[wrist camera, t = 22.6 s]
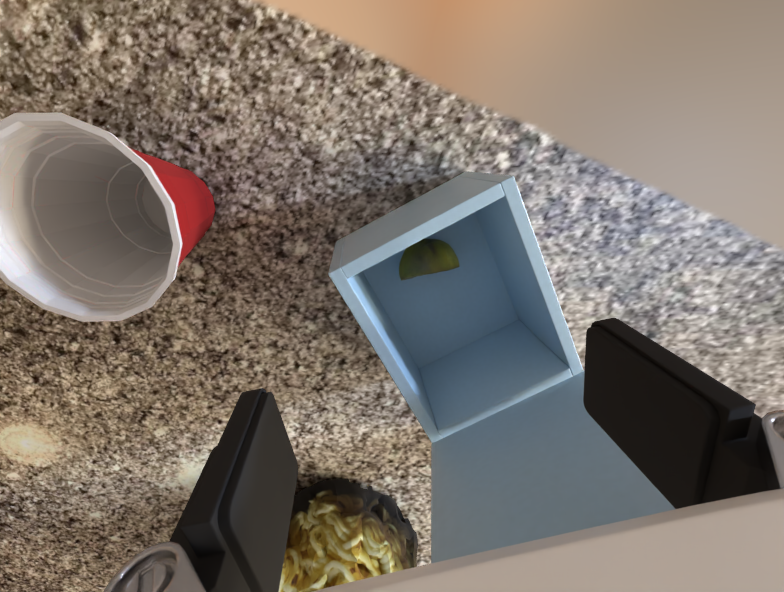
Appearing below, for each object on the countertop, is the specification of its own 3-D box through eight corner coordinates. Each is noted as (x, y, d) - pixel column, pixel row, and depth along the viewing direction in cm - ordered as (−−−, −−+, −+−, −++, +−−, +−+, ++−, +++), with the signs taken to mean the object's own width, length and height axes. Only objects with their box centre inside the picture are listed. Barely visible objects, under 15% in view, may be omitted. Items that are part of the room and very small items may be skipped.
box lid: (430, 636, 11) (506, 797, 11) (831, 464, 10) (933, 634, 10) (431, 443, 28) (461, 504, 27) (585, 369, 27) (619, 431, 26)
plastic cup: (97, 116, 27) (-86, 84, 16) (248, 146, 29) (179, 136, 17) (108, 256, 30) (-36, 311, 19) (241, 275, 32) (181, 336, 21)
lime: (458, 254, 32) (475, 269, 28) (420, 292, 33) (431, 313, 29) (423, 220, 31) (436, 230, 26) (385, 260, 32) (390, 277, 27)
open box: (335, 241, 32) (327, 273, 23) (466, 171, 31) (513, 175, 22) (413, 374, 37) (432, 443, 28) (525, 318, 36) (584, 371, 27)
